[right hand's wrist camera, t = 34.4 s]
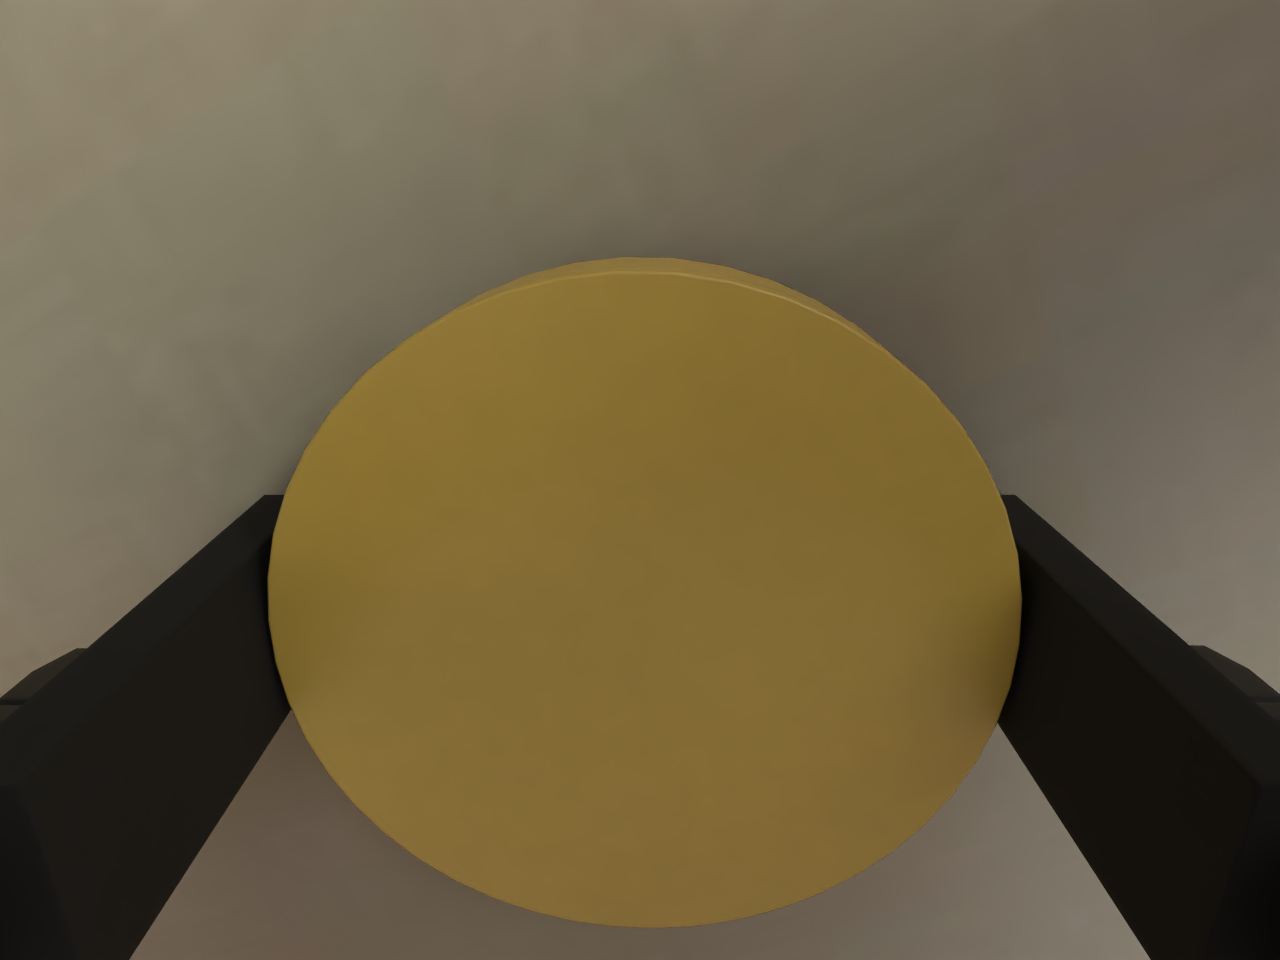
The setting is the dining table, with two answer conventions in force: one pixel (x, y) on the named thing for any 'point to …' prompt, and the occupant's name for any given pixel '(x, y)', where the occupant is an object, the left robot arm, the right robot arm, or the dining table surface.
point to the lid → (644, 595)
